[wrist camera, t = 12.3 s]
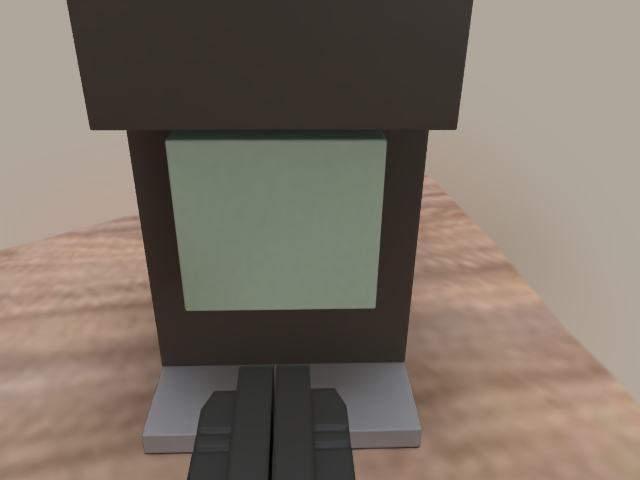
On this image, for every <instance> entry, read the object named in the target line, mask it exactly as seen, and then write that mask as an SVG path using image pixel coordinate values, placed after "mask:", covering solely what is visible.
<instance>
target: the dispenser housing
mask: <svg viewBox="0 0 640 480" xmlns="http://www.w3.org/2000/svg"><path fill="white" fill-rule="evenodd" d="M67 5H68V11H69V16H70V22H71V27H72V33H73V38H74V44H75V49H76V55H77V59H78V65H79V71H80V76H81V82H82V87H83V93H84V98H85V104H86V109H87V115H88V120H89V126H90V129H91V130H127V137H128V143H129V150H130V156H131V163H132V170H133V176H134V183H135V189H136V195H137V203H138V209H139V216H140V222H141V229H142V235H143V242H144V249H145V255H146V262H147V268H148V275H149V281H150V288H151V294H152V301H153V308H154V314H155V321H156V327H157V334H158V340H159V347H160V353H161V360H162V366H163V367H162V371H161V374H160V377H159V380H158V384H157V387H156V390H155V394H154V397H153V400H152V403H151V407H150V410H149V413H148V416H147V420H146V423H145V426H144V430H143V433H142V440H143V446H144V451H145V453H177V452H193V447H194V442H195V437H196V435H197V426H198V421H199V416H200V411H201V408H202V407H203V406H204V404H205V403H206V402H207V400H208V399H209V398H210V396H211V395H212V394H213V392H214V391H235V390H236V389H237V381H238V373H239V367H240V366H243V365H274V381H275V384H276V365H284V364H310V383H311V389H315V388H335V389H336V391H337V392H338V394H339V395H340V397H341V398H342V400H343V401H344V403H345V404H346V405H347V413H348V422H349V430H350V439H351V448H382V447H418V446H419V445H420V439H421V431H422V428H421V425H420V421H419V417H418V413H417V409H416V405H415V402H414V398H413V394H412V390H411V386H410V382H409V379H408V375H407V371H406V367H405V363H404V361H405V352H406V342H407V333H408V323H409V314H410V304H411V295H412V285H413V276H414V266H415V256H416V247H417V237H418V228H419V218H420V209H421V199H422V190H423V180H424V170H425V160H426V152H427V141H428V133H429V130H456V129H457V123H458V115H459V106H460V99H461V91H462V83H463V76H464V68H465V59H466V52H467V45H468V37H469V29H470V22H471V14H472V6H473V0H67ZM172 130H382V132H383V134H384V136H385V138H386V140H387V149H386V163H385V178H384V192H383V206H382V220H381V235H380V249H379V263H378V278H377V292H376V306H375V308H369V309H297V310H225V311H186V309H185V303H184V294H183V286H182V278H181V270H180V261H179V253H178V245H177V237H176V228H175V220H174V212H173V203H172V195H171V187H170V179H169V170H168V162H167V154H166V145H165V141H166V139H167V137H168V136H169V134H170V133H171V131H172Z"/></svg>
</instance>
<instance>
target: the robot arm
mask: <svg viewBox="0 0 640 480" xmlns="http://www.w3.org/2000/svg"><path fill="white" fill-rule="evenodd" d="M187 480H355V472H354V464H353V455H352V448H351V439H350V430H349V422H348V413H347V405H346V404H345V403H344V401H343V400H342V398H341V397H340V395H339V394H338V392H337V391H336V389H335V388H315V389H311V383H310V364H284V365H276V384H275V381H274V365H243V366H240V367H239V373H238V381H237V389H236V390H235V391H214V392H213V394H212V395H211V396H210V398H209V399H208V400H207V402H206V403H205V404H204V406H203V407H202V408H201V411H200V416H199V421H198V426H197V435H196V437H195V442H194V447H193V452H192V457H191V462H190V467H189V473H188V478H187Z"/></svg>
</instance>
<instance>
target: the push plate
mask: <svg viewBox="0 0 640 480" xmlns="http://www.w3.org/2000/svg"><path fill="white" fill-rule="evenodd" d="M165 145H166V154H167V162H168V170H169V179H170V187H171V195H172V203H173V212H174V220H175V228H176V237H177V245H178V253H179V261H180V270H181V278H182V286H183V294H184V303H185V309H186V311H225V310H297V309H369V308H375V306H376V292H377V278H378V263H379V249H380V235H381V220H382V206H383V192H384V178H385V163H386V149H387V140H386V138H385V136H384V134H383V132H382V130H172V131H171V133H170V134H169V136H168V137H167V139H166V141H165Z"/></svg>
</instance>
